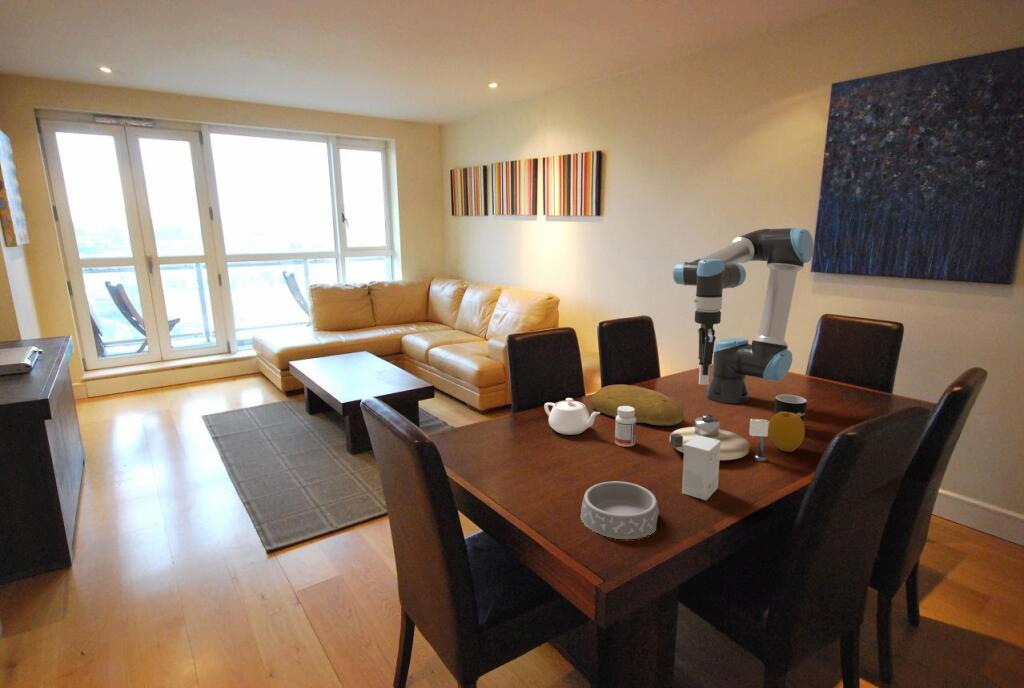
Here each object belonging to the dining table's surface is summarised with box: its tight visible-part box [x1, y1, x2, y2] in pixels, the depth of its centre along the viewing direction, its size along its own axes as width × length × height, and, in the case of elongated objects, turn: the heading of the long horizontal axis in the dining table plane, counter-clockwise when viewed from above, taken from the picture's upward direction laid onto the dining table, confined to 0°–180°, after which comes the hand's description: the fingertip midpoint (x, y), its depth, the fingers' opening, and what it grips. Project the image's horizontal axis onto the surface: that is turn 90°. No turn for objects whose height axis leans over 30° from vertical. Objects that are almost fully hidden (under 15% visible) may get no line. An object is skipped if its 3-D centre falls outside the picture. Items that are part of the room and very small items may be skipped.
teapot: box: [543, 397, 601, 436], centre depth 170 cm, size 22×14×11 cm, turn 48°
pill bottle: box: [614, 406, 637, 448], centre depth 158 cm, size 6×6×11 cm
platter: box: [669, 426, 751, 461], centre depth 152 cm, size 22×23×4 cm
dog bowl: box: [579, 480, 660, 541], centre depth 118 cm, size 17×18×5 cm
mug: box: [774, 394, 808, 422], centre depth 169 cm, size 12×9×10 cm
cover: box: [694, 413, 721, 438], centre depth 158 cm, size 7×7×6 cm
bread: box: [590, 384, 685, 427], centre depth 184 cm, size 18×35×10 cm, turn 47°
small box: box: [681, 435, 721, 501], centre depth 128 cm, size 8×6×13 cm
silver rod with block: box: [748, 418, 770, 463], centre depth 145 cm, size 3×5×12 cm, turn 81°
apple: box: [768, 412, 806, 453], centre depth 152 cm, size 10×10×12 cm
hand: (703, 383), depth 164 cm, fingers closed
